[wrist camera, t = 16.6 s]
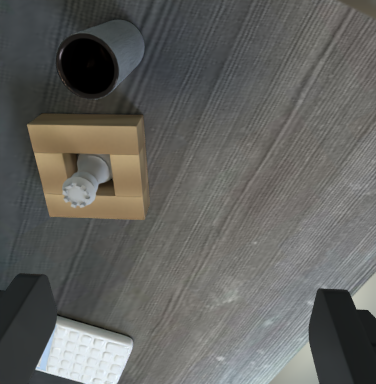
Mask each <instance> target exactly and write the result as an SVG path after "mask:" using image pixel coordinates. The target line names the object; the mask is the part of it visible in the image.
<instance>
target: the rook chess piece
mask: <svg viewBox="0 0 376 384" xmlns="http://www.w3.org/2000/svg"><path fill="white" fill-rule="evenodd" d="M77 167H78V171H77V173H74V174H73V175H72V177H71V178H68V179H67V180H66V181H65V182H64V183H63V187H62V190H63V193H62V194H63V195H64V196H65V197H64V201H65V202H66V203H67V202H68V201H69V202H71V203H72V204H71V207H74V208H76V206H77V205H78V206H80V208H82V207H85V206H86V205H89V204H91V203H92V202H93V201H94V200H95V197H96V192H97V189H98V185H99V184H100V183H104V182H107V181H109V180H110V179H111V178H112V177H113V175H112V167H111V160H110V154H79V156H78V160H77Z"/></svg>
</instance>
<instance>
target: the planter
mask: <svg viewBox="0 0 376 384" xmlns="http://www.w3.org/2000/svg"><path fill="white" fill-rule="evenodd" d="M144 50H145V45H144V40H143V37H142V35H141V33H140V31H139V30H138V29H137V28H136V27H135V26H134V25H133V24H132V23H130V22H128V21H125V20H112V21H109V22H106V23H103V24H100V25H97V26H94V27H92V28H89V29H86V30H83V31H80V32H77V33H75V34H72V35H70V36H68V37H67V38H66V39H64V40H63V41H62V43H61V44H60V46H59V48H58V50H57V54H56V68H57V72H58V75H59V77H60V79H61V81H62V82H63V84H64V85H65V86H66V87H67V88H68V89H69V90H70V91H71V92H72V93H74V94H75V95H77V96H79V97H82V98H85V99H100V98H103V97H105V96H107V95H108V94H110V93H111V92H112V91H113V90H114V89H115V88H116V87H117V86H118V85H119V84H120V83H121V82H122V81H123V80H124V79H125V78H126V77H127V76H128V75H129V74H130V73H131V72H132V70H133V69H134V68H135V67H136V66H137V65H138V64H139V63H140V61H141V60H142V58H143V55H144Z"/></svg>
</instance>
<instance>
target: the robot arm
mask: <svg viewBox="0 0 376 384" xmlns="http://www.w3.org/2000/svg"><path fill="white" fill-rule="evenodd" d="M56 321H57V308H56V304H55V301H54V297H53V294H52V290H51V287H50V283H49V280H48V277H47V276H46V275H44V274H22V273H20V274H18V275H17V276H16V277H15V278H14V279H13V281H12V282H11V284H10V285H9V286H8V288H7V289H6V291H2V290H0V384H29V381H30V379H31V377H32V375H33V373H34V371H35V369H36V367H37V365H38V363H39V360H40V358H41V356H42V354H43V352H44V350H45V348H46V346H47V344H48V342H49V339H50V337H51V335H52V333H53V331H54V329H55V325H56ZM309 343H310V347H311V352H312V355H313V359H314V364H315V368H316V372H317V376H318V380H319V384H376V318H375V317H374V316H373V315H372V314H371V313H370V312H369V311H368V310H356V307H355V305H354V302H353V300H352V298H351V295H350V293H349V292H348V291H347V290H342V289H320V288H319V289H318V291H317V293H316V298H315V302H314V306H313V310H312V314H311V318H310V323H309Z"/></svg>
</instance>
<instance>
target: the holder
mask: <svg viewBox="0 0 376 384" xmlns="http://www.w3.org/2000/svg"><path fill="white" fill-rule="evenodd" d="M27 127H28V131H29V135H30V139H31V143H32V147H33V151H34V152H35V153H34V154H35V158H36V162H37V166H38V170H39V174H40V178H41V182H42V186H43V190H44V193H45V194H44V195H45V199H46V203H47V207H48V211H49V215H50V217H78V218H106V219H135V220H145V217H146V214H147V211H148V208H149V204H150V198H149V185H148V172H147V159H146V146H145V132H144V119H143V115H115V114H46V113H42V114H41V115H39V116H38V117H37V118H35V119H34V120H33V121H31V122H30V123H28V124H27ZM76 153H80V154H110V160H111V167H112V175H113V180H109V181H107V182H104V183H100V184H99V185H98V189H97V192H96V197H95V200H94V201H93V202H92V203H91V204H89V205H86V206H85V207H82V208H80V206H78V205H77V206H76V208H74V207H71V204H72V203H71V202H69V201H68V202H67V203H66V202H65V201H64V197H65V196H64V195H63V194H62V193H63V190H62V187H63V183H64V182H65V181H66V180H67V179H68V178H71V177H72V175H73V174H74V173H77V171H78V167H77V154H76Z"/></svg>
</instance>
